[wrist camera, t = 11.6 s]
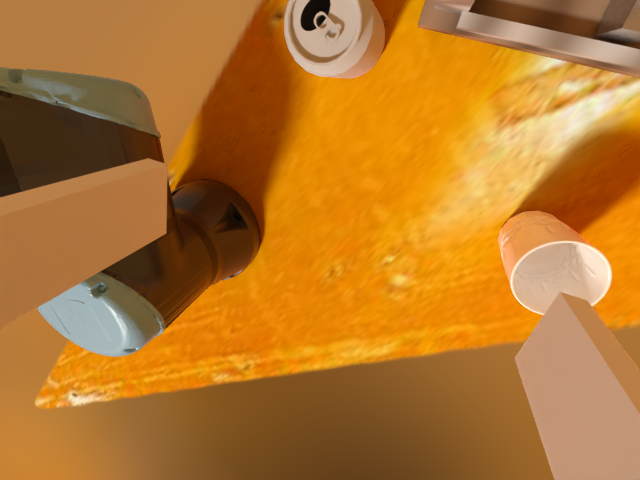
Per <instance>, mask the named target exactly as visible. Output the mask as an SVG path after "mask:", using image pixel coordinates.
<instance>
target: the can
mask: <svg viewBox="0 0 640 480" xmlns="http://www.w3.org/2000/svg"><path fill="white" fill-rule="evenodd" d="M385 33H386V32H385V27H384V22H383V19H382V17H381V15H380V13H379V11H378V9H377V8H376V6H375V4H374V3H373V1H372V0H288V3H287V7H286V12H285V16H284V35H285V39H286V42H287V46H288V49H289V51H290V53H291V54H292V56H293V58H294V59H295V61H296V62H297V63H298V64H299V65H300V66H301V67H302V68H304V69H305V70H306V71H308V72H310V73H313V74H315V75H318V76H324V77H335V78H355V77H358V76H361V75H364V74H365V73H366V72H368V71H369V70H370V69H372V68H373V66H374V65H375V64H376V62H377V61H378V60H379V58H380V56H381V53H382V51H383V48H384V44H385Z"/></svg>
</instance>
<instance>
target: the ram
mask: <svg viewBox="0 0 640 480" xmlns="http://www.w3.org/2000/svg"><path fill="white" fill-rule="evenodd" d="M593 37H597V38H602V39H607V40H611V41H616V42H620V43H625V44H635V43H640V0H611V2H610V4H609V6H608V8H607V10H606V12H605V13H604V15H603V17H602V19H601V21H600V23H599V25H598V27H597V29H596V31H595V33H594V35H593Z"/></svg>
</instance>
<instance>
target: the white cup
mask: <svg viewBox="0 0 640 480" xmlns="http://www.w3.org/2000/svg"><path fill="white" fill-rule="evenodd" d="M498 243H499V246H500V249H501V257H502V261H503V264H504V268H505V271H506V274H507V277H508V280H509V283H510V286H511V289H512V292H513V294H514V296H515V298H516V299H517V300H518V301H519V302H520V303H521V304H522V305H523V306H524V307H526V308H527V309H529V310H531V311H533V312H536V313H539V314H542V315H544V314H545V313H546V311H547V310H548V308H549V307H550V305H551V304H552V302H553V301H554V300H555V298H556V297H557V295H558V294H559V292H562V293H565V294H568V295H571V296H575V297H578V298H581V299H584V300H587V301H588V302H589V303H590V305H591V306H593V305H595V304H596V303H597V302H598V301H600V300H601V299H602V298H603V296H604V295H605V294H606V292H607V291H608V289H609V287H610V284H611V281H612V269H611V265H610V263H609V261H608V259H607V258H606V257H605V255H604V254H603V253H602V252H601V251H599V250H598V249H597V248H596V247H594V246H593V245H592V244H591V243H589V242H588V241H587V240H586V239H585V238H583V237H582V236H581V235H580V234H579V233H577V232H576V231H574V230H573V229H572V228H570V227H569V226H568V225H566V224H565V223H563V222H561V221H559V220H558V219H557V218H556V217H555V216H554V215H552V214H549V213H546V212H542V211H539V210H536V211H526V212H521V213H519V214H517V215H515V216H513V217H511V218H509V220H508V221H507V222H506V223H505V224H504V225H503V227H502V228H501V229H500V233H499V237H498Z"/></svg>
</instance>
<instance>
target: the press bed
mask: <svg viewBox="0 0 640 480" xmlns="http://www.w3.org/2000/svg"><path fill="white" fill-rule="evenodd" d="M610 2H611V0H425V3H424V7H423V10H422V13H421V17H420V20H419V23H418V27H420V28H424V29H428V30H433V31H437V32H441V33H446V34H450V35H454V36H459V37H463V38H468V39H472V40H476V41H481V42H485V43H489V44H494V45H498V46H502V47H507V48H511V49H515V50H520V51H524V52H528V53H533V54H537V55H541V56H546V57H550V58H555V59H559V60H563V61H568V62H572V63H576V64H581V65H585V66H589V67H594V68H598V69H602V70H607V71H611V72H615V73H620V74H624V75H628V76H633V77H637V78H640V43H635V44H625V43H620V42H616V41H611V40H607V39H602V38H597V37H593V35H594V33H595V31H596V29H597V27H598V25H599V23H600V21H601V19H602V17H603V15H604V13H605V12H606V10H607V8H608V6H609V4H610Z"/></svg>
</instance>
